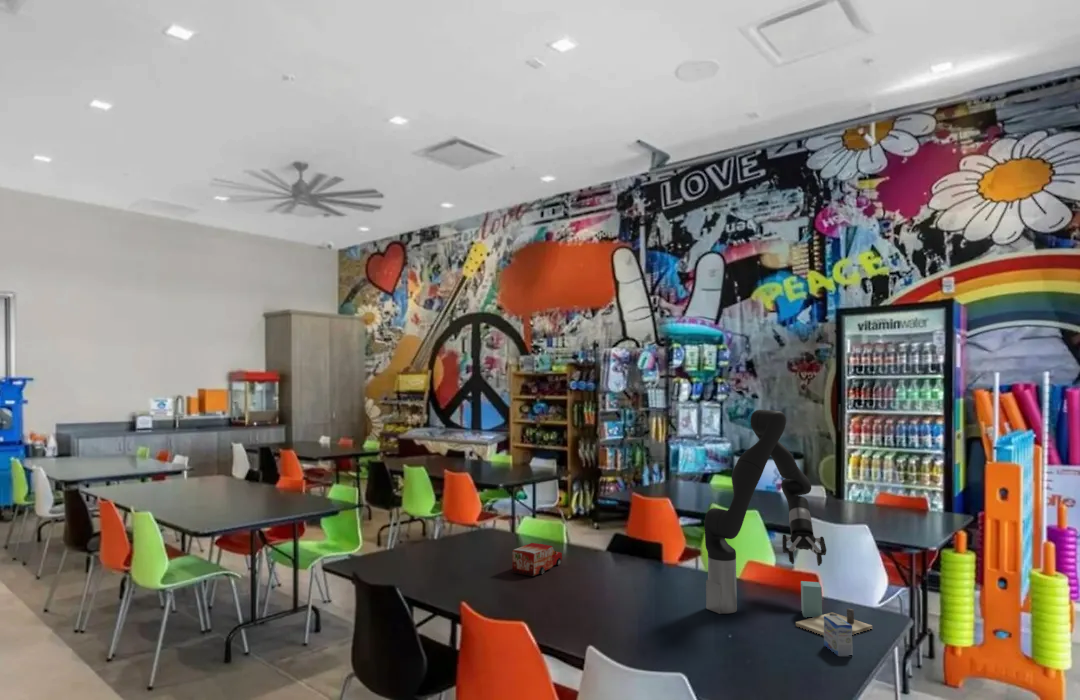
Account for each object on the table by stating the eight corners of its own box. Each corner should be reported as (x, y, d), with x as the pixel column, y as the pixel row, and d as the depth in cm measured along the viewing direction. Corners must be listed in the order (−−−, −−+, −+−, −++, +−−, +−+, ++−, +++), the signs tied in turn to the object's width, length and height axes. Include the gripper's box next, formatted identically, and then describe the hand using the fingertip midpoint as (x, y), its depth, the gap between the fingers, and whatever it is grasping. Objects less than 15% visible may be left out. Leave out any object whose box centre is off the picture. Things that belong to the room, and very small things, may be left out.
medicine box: (823, 645, 193) (822, 615, 193) (838, 645, 193) (837, 615, 194) (838, 657, 185) (837, 625, 186) (853, 656, 186) (852, 624, 186)
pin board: (835, 640, 197) (835, 622, 197) (795, 626, 209) (795, 609, 209) (872, 629, 206) (871, 612, 206) (832, 615, 218) (831, 599, 218)
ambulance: (565, 564, 281) (565, 540, 281) (533, 579, 260) (533, 553, 260) (543, 561, 286) (543, 537, 287) (510, 575, 266) (510, 549, 266)
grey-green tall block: (822, 618, 215) (821, 587, 216) (803, 617, 217) (803, 585, 217) (819, 612, 221) (818, 582, 221) (801, 611, 222) (800, 581, 223)
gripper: (780, 516, 241) (784, 556, 229) (822, 518, 237) (829, 559, 226) (779, 528, 246) (783, 568, 234) (820, 530, 242) (827, 570, 230)
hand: (806, 563), depth 230 cm, fingers open, 8 cm apart
